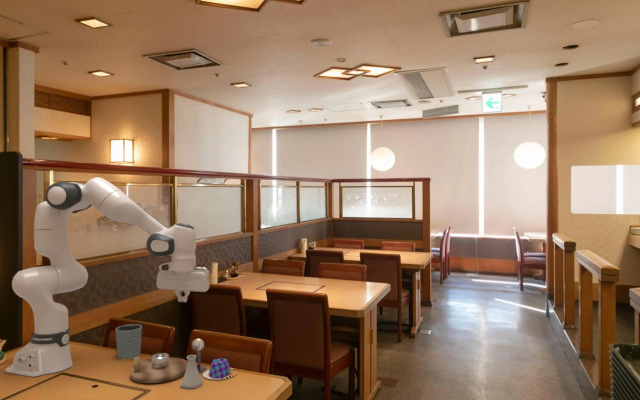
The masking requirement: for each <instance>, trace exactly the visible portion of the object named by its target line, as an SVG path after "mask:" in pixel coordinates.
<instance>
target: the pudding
mask: <svg viewBox="0 0 640 400" xmlns="http://www.w3.org/2000/svg"><path fill="white" fill-rule="evenodd" d="M209 367H210V368H209V369H207V370H204V371H203V372H202V376H203V377H204V378H205V379H209V380H216V381H217V380H219V379H221V378H223V379H222V380H225V379H229V378H232V377H234V376H235V375H236V374H237V372H236V373H235V374H234V375H233V376H231V377H229V376H228V375H230V372H231V370H230V368H231V369H234V368H232V367H230V363H229V360H228V359H226V358H217V359H216V358H215V359H213V360H212V362H211V363H210V366H209ZM208 374H209V375H208ZM226 376H227V377H228V378H224V377H226ZM213 378H214V379H213ZM217 378H219V379H217Z"/></svg>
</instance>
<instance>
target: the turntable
mask: <svg viewBox="0 0 640 400" xmlns="http://www.w3.org/2000/svg"><path fill="white" fill-rule="evenodd" d="M151 362H152V358H149V359H146V360H143V361H141V357H140V356H139V357H135V358H134V359H133V365H132V367H130V369H129V377H130V379H131V380H132V381H134V382H137V383H143V384H145V383H146V384H154V383H163V382H168V381H172V380H175V379H177V378H181V377H182V376H184V375H185V372H186V369H187V363H188V360H186V359H184V358H180V357H173V356H172V357H171V356H169V366H168V367H167V368H165V369H160V370H154V369H152V368H151Z"/></svg>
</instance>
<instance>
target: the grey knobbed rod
mask: <svg viewBox="0 0 640 400" xmlns="http://www.w3.org/2000/svg"><path fill="white" fill-rule="evenodd" d="M204 346H205V342H204V340H203V339H201V338H199V337H198V338H196V339H194V340H192V342H191V348H192V350H193V351H195V352H196V366H197V369H198V372H199V374H203V373H204V372H205V371H206V369H207V366H204V365H201V350H203V348H204Z"/></svg>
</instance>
